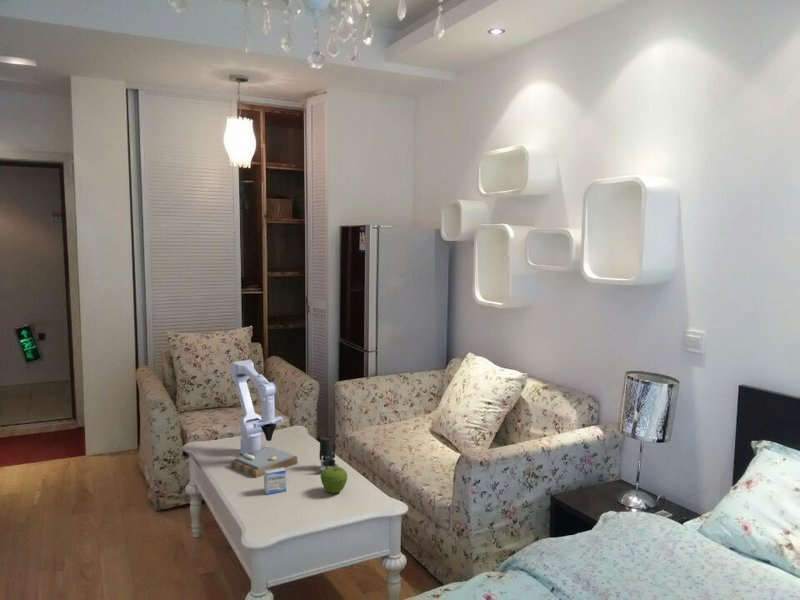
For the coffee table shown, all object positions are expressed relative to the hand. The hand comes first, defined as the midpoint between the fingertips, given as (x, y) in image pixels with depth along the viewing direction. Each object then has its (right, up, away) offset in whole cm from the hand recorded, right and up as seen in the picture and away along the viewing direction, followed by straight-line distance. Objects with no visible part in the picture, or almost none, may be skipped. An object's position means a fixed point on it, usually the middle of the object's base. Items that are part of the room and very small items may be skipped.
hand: (268, 440), depth 271 cm
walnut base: (-1, -11, -2) cm, 11 cm away
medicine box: (+9, -14, -29) cm, 34 cm away
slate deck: (-1, -8, -2) cm, 8 cm away
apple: (+32, -14, -30) cm, 46 cm away
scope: (+27, -11, -6) cm, 30 cm away
